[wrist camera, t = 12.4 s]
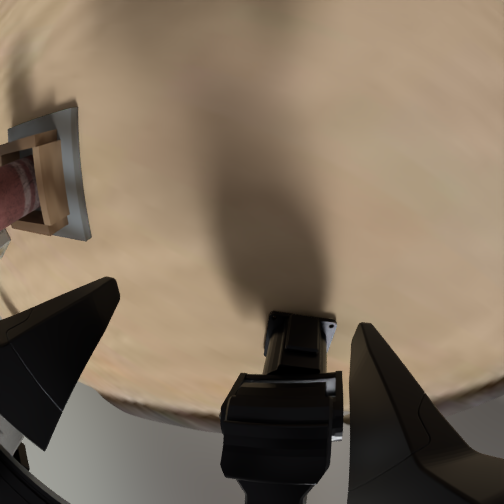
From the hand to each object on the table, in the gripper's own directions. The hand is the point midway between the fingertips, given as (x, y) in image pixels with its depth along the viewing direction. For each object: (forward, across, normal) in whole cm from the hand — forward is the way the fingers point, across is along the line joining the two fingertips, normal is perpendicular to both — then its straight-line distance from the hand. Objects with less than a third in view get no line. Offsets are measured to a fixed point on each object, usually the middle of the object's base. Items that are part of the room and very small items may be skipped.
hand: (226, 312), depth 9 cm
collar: (+13, +26, -1) cm, 29 cm away
